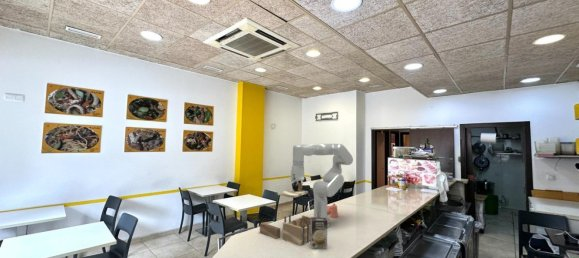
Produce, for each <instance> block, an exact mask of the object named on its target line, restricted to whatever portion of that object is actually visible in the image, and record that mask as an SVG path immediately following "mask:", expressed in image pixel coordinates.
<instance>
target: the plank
mask: <svg viewBox="0 0 579 258" xmlns="http://www.w3.org/2000/svg"><path fill="white" fill-rule="evenodd" d="M259 234H261V235H265V236H267V237H269V238H272V239H274V240H275V239H276V240H278V239H281V227H277V226H275V225H271V224H269V223H266V222H261V223H259Z"/></svg>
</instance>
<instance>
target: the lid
mask: <svg viewBox="0 0 579 258" xmlns="http://www.w3.org/2000/svg"><path fill="white" fill-rule="evenodd" d="M307 194H309V191H307V190H303V184H302V183H298V192H297V191H294V188H291V189H287V190H284V191H280V192H277V196H281V197H285V198H293V199H294V198H297V197H301V196H303V195H307Z"/></svg>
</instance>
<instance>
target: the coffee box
mask: <svg viewBox="0 0 579 258" xmlns="http://www.w3.org/2000/svg"><path fill="white" fill-rule="evenodd" d="M310 217H311V225H310V241H309V246H310V249H311V250H328V227H327V224H328V223H329V220H328V221H327V219H326V218H322V217H314V216H310Z"/></svg>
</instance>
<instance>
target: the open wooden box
mask: <svg viewBox="0 0 579 258" xmlns="http://www.w3.org/2000/svg"><path fill="white" fill-rule="evenodd" d="M311 217H312V216H307V215H305V214H304V215H303V214H302V215H301V217H299V218H297V219H294V220H292V215H291V214H290V215H288V222H287V216H284V218H283V219H284V220H283V222H282V240H283V241H287V242H288V243H292V244H294V245H298V246H300V247H301V246H304V245H305V244H307V243H308V244H310V225H311Z"/></svg>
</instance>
